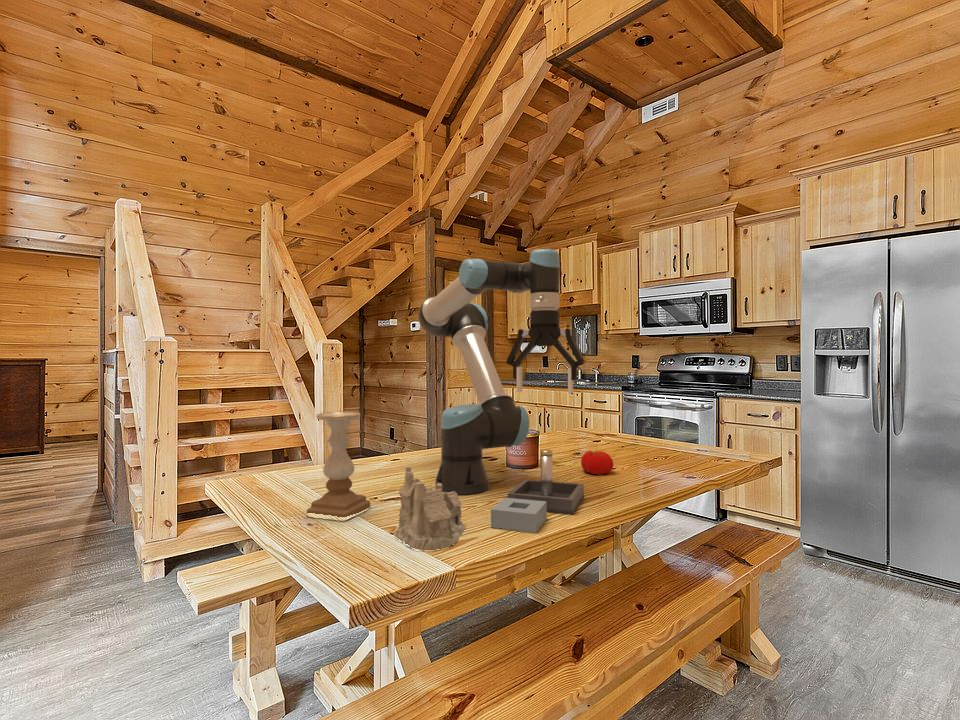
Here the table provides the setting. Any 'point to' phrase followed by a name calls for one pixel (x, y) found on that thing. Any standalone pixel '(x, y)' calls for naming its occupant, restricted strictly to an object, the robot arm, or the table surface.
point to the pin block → (519, 515)
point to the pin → (546, 473)
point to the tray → (563, 495)
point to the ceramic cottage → (428, 515)
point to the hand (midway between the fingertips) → (544, 392)
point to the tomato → (597, 462)
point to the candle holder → (339, 471)
